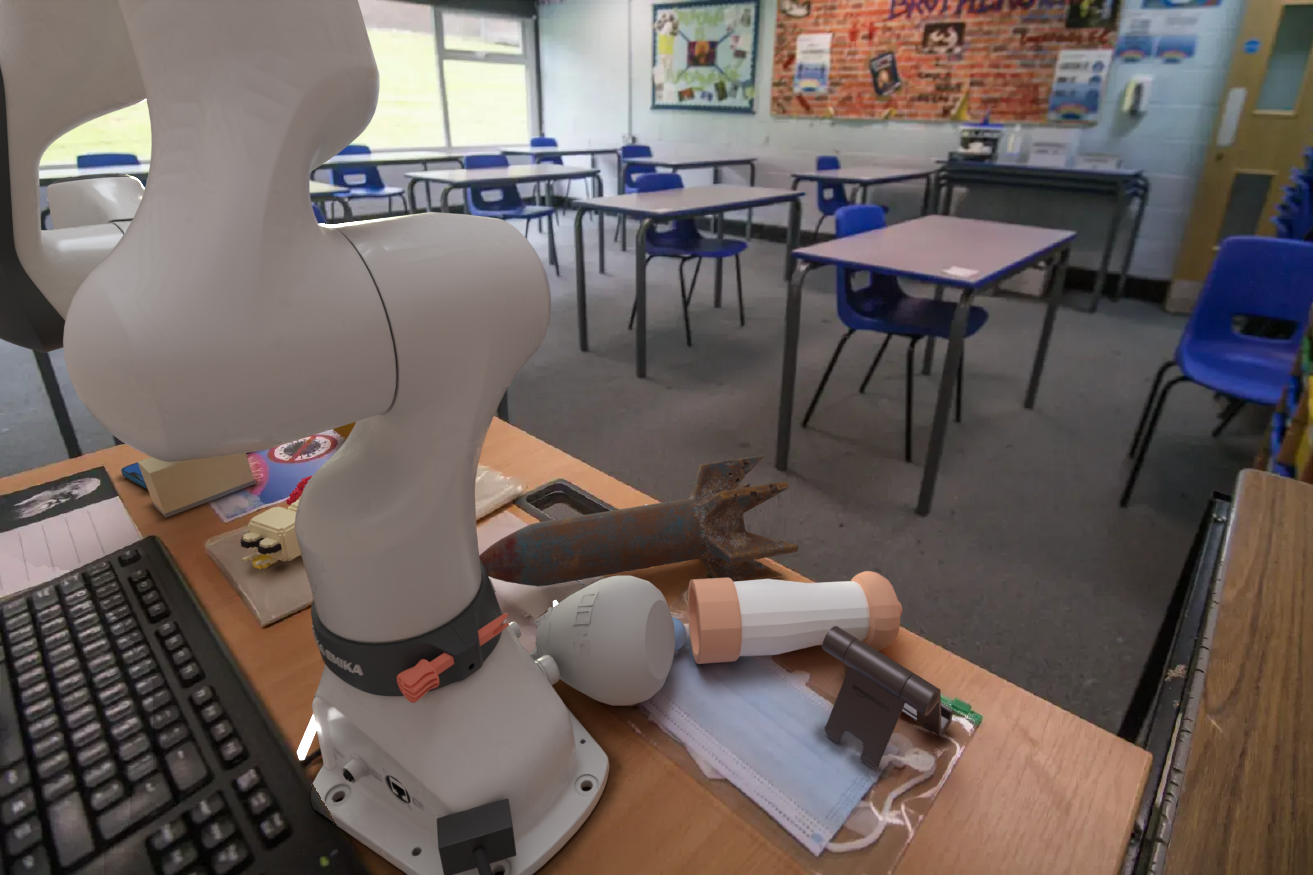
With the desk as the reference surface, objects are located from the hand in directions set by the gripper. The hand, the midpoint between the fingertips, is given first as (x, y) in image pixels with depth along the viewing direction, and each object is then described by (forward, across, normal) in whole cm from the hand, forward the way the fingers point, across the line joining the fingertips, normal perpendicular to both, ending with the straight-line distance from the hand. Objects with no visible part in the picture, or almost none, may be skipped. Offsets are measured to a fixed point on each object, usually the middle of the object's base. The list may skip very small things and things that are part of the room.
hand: (183, 445), depth 82 cm
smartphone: (+7, -10, +3) cm, 12 cm away
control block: (+7, 0, +1) cm, 7 cm away
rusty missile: (+2, +42, +10) cm, 43 cm away
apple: (+7, +1, +21) cm, 22 cm away
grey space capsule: (+1, +62, +13) cm, 63 cm away
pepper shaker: (+4, +61, +18) cm, 64 cm away
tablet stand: (+7, +77, +22) cm, 81 cm away
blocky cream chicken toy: (+7, +17, +10) cm, 21 cm away
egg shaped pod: (+7, +51, +18) cm, 54 cm away
